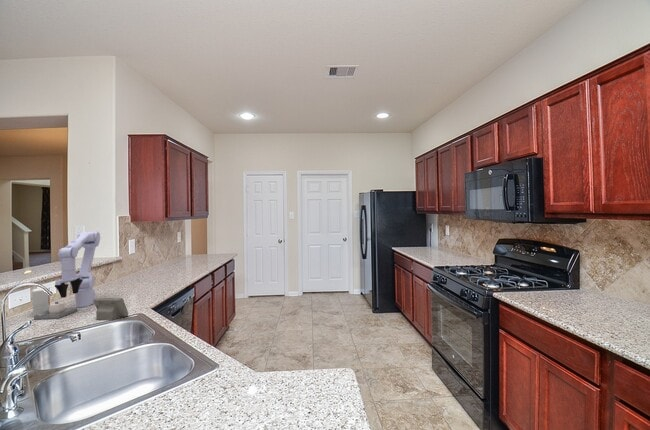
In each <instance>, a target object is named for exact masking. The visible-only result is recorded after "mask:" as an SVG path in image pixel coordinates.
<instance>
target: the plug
mask: <svg viewBox="0 0 650 430" xmlns="http://www.w3.org/2000/svg"><path fill="white" fill-rule="evenodd" d="M65 308H66V307H65V302H59V301H54V303H50V305H49V313H59V312H61V311H64V310H65Z"/></svg>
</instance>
